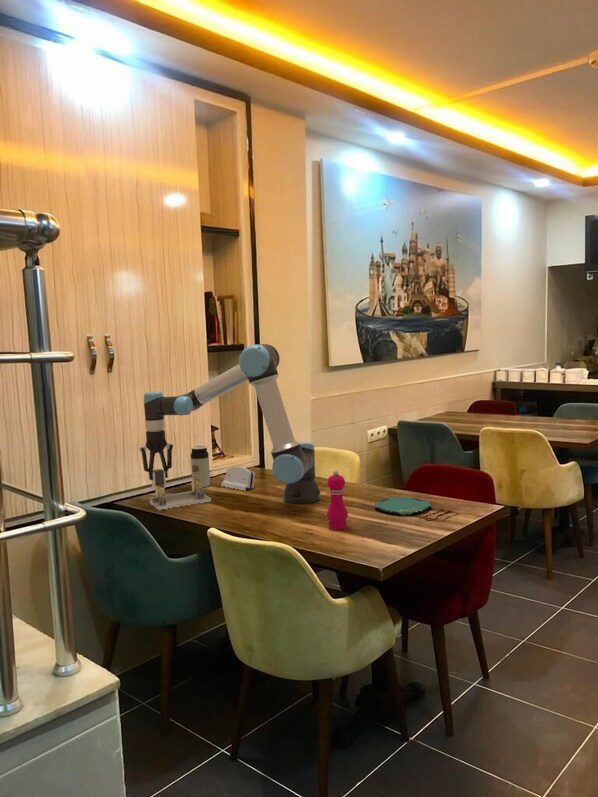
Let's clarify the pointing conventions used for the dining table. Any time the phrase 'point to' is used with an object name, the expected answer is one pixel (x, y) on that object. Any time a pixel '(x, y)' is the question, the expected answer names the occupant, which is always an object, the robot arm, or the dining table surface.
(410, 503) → the teal flat plaque
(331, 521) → the pepper mill
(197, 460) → the travel mug
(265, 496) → the dining table surface
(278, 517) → the dining table surface
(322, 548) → the dining table surface
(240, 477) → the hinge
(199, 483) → the bolt plate
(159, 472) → the sliding leg
